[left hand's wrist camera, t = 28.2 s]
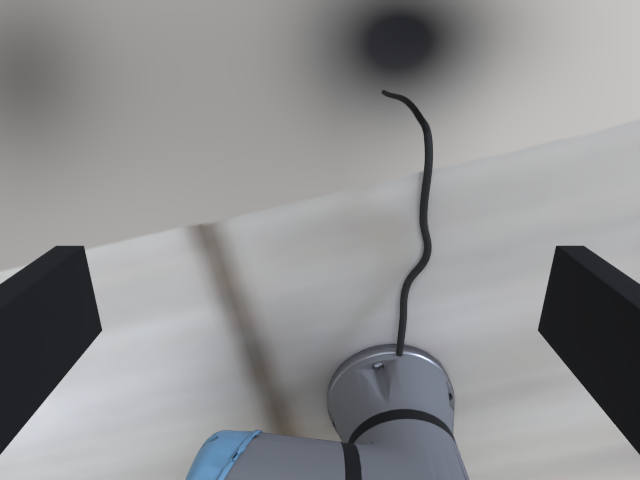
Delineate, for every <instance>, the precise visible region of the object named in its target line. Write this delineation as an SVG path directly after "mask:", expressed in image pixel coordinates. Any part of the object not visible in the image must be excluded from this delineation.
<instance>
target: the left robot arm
mask: <svg viewBox="0 0 640 480" xmlns="http://www.w3.org/2000/svg"><path fill="white" fill-rule="evenodd" d="M382 94H383V95H384V96H386V97H389V98H393V99H396V100H399V101H401V102H403V103H404V104H405V105H407V107H408V108H409V109H410V110H411V111H412V113H413V114H414V116H415V118H416V119H417V121H418V122H419V124H420V125H421V127H422V130H423V135H424V143H425V166H424V176H423V184H422V192H421V202H420V227H421V232H422V236H423V240H424V253H423V256H422V259H421V261H420V262H419V263H418V265H417V266H416V267H415V268H414V269H413V270H412V272H411V273H410V274H409V275H408V277H407V278H406V280H405V282H404V285H403V288H402V292H401V299H400V322H399V331H398V340H397V345H396V344H390V345H380V346H375V347H371V348H368V349H365V350H363V351H360V352H358V353H356V354H355V355H353V356H351V357H350V358H349V359H347V360H346V361H345V362H344V363H343V364H342V365H341V366H340V367H339V368H338V369H337V371H336V372H335V374H334V375H333V377H332V379H331V382H330V385H329V389H328V412H329V416H330V420H331V422H332V424H333V426H334V428H335V430H336V432H337V433H338V435H339V436H340V439H341V441H342V442H337V441H328V440H320V439H311V438H302V437H293V436H285V435H277V434H270V433H263V431H260V430H256V431H254V432H248V431H230V430H224V431H220V432H217V433H215V434H213V435H212V436H211V437H209V438H208V439H207V441H206V442H205V443H204V444H203V446H202V447H201V449H200V450H199V452H198V454H197V456H196V458H195V460H194V462H193V464H192V466H191V468H190V470H189V473H188V475H187V477H186V480H469V477H468V474H467V472H466V469H465V466H464V464H463V461H462V458H461V455H460V453H459V450H458V447H457V445H456V442H455V439H454V436H453V426H454V392H453V388H452V385H451V382H450V380H449V378H448V375H447V373H446V371H445V370H444V368H443V367H442V365H441V364H440V363H439V362H438V361H437V360H436V359H435V358H434V357H432V356H431V355H429V354H428V353H426V352H424V351H422V350H420V349H417V348H414V347H410V346H406V345H404V339H405V330H406V321H407V298H408V293H409V289H410V286H411V284H412V282H413V281H414V279H415V278H416V277H417V276H418V274H419V273H420V272H421V271H422V270H423V269H424V267H425V266H426V265H427V263H428V261H429V258H430V255H431V239H430V235H429V231H428V225H427V209H428V198H429V191H430V183H431V175H432V165H433V143H432V134H431V129H430V126H429V124H428V122H427V121H426V120H425V118H424V117H423V115H422V114H421V112H420V111H419V109H418V108H417V107H416V106H415V104H414V103H413V102H412V101H411V100H410V99H408V98H407V97H405V96H403V95H399V94H395V93H390V92H387V91H386V90H383V91H382ZM101 331H102V327H101V323H100V318H99V314H98V309H97V304H96V300H95V295H94V291H93V286H92V281H91V277H90V272H89V268H88V263H87V258H86V254H85V249H84V246H55V247H54V248H52V249H51V250H50V251H48V252H47V253H45V254H44V255H42V256H41V257H39V258H38V259H36V260H35V261H33V262H32V263H31V264H29V265H28V266H26V267H25V268H23V269H22V270H20V271H19V272H17V273H16V274H15V275H13V276H12V277H10V278H9V279H7V280H6V281H4V282H3V283H1V284H0V454H1V453H2V452H3V451H4V449H5V448H6V447H7V446H8V445H9V443H10V442H11V441H12V440H13V438H14V437H15V436H16V435H17V434H18V432H19V431H20V430H21V429H22V427H23V426H24V425H25V424H26V423H27V421H28V420H29V419H30V418H31V416H32V415H33V414H34V413H35V412H36V410H37V409H38V408H39V407H40V406H41V404H42V403H43V402H44V401H45V399H46V398H47V397H48V396H49V395H50V393H51V392H52V391H53V390H54V388H55V387H56V386H57V385H58V384H59V382H60V381H61V380H62V379H63V377H64V376H65V375H66V374H67V373H68V371H69V370H70V369H71V368H72V367H73V365H74V364H75V363H76V362H77V360H78V359H79V358H80V357H81V356H82V354H83V353H84V352H85V351H86V349H87V348H88V347H89V346H90V345H91V343H92V342H93V341H94V340H95V339H96V337H97V336H98V335H99V334H100V332H101ZM538 331H539V332H540V334H541V335H542V336H543V337H544V339H545V340H546V341H547V342H548V343H549V345H550V346H551V347H552V348H553V349H554V351H555V352H556V353H557V354H558V356H559V357H560V358H561V359H562V360H563V362H564V363H565V364H566V365H567V367H568V368H569V369H570V370H571V371H572V373H573V374H574V375H575V376H576V377H577V379H578V380H579V381H580V382H581V384H582V385H583V386H584V387H585V388H586V390H587V391H588V392H589V393H590V395H591V396H592V397H593V398H594V399H595V401H596V402H597V403H598V404H599V406H600V407H601V408H602V409H603V410H604V412H605V413H606V414H607V415H608V416H609V418H610V419H611V420H612V421H613V423H614V424H615V425H616V426H617V427H618V429H619V430H620V431H621V432H622V434H623V435H624V436H625V437H626V438H627V440H628V441H629V442H630V443H631V445H632V446H633V447H634V448H635V449H636V451H637V452H638V453H639V454H640V284H639V283H637V282H636V281H634V280H633V279H631V278H630V277H628V276H627V275H625V274H624V273H623V272H621V271H620V270H618V269H617V268H615V267H614V266H612V265H611V264H609V263H608V262H607V261H605V260H604V259H602V258H601V257H599V256H598V255H596V254H595V253H593V252H592V251H591V250H589V249H588V248H586V247H585V246H556V249H555V254H554V258H553V263H552V268H551V272H550V277H549V281H548V286H547V291H546V295H545V300H544V304H543V309H542V314H541V318H540V323H539V327H538Z"/></svg>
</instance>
